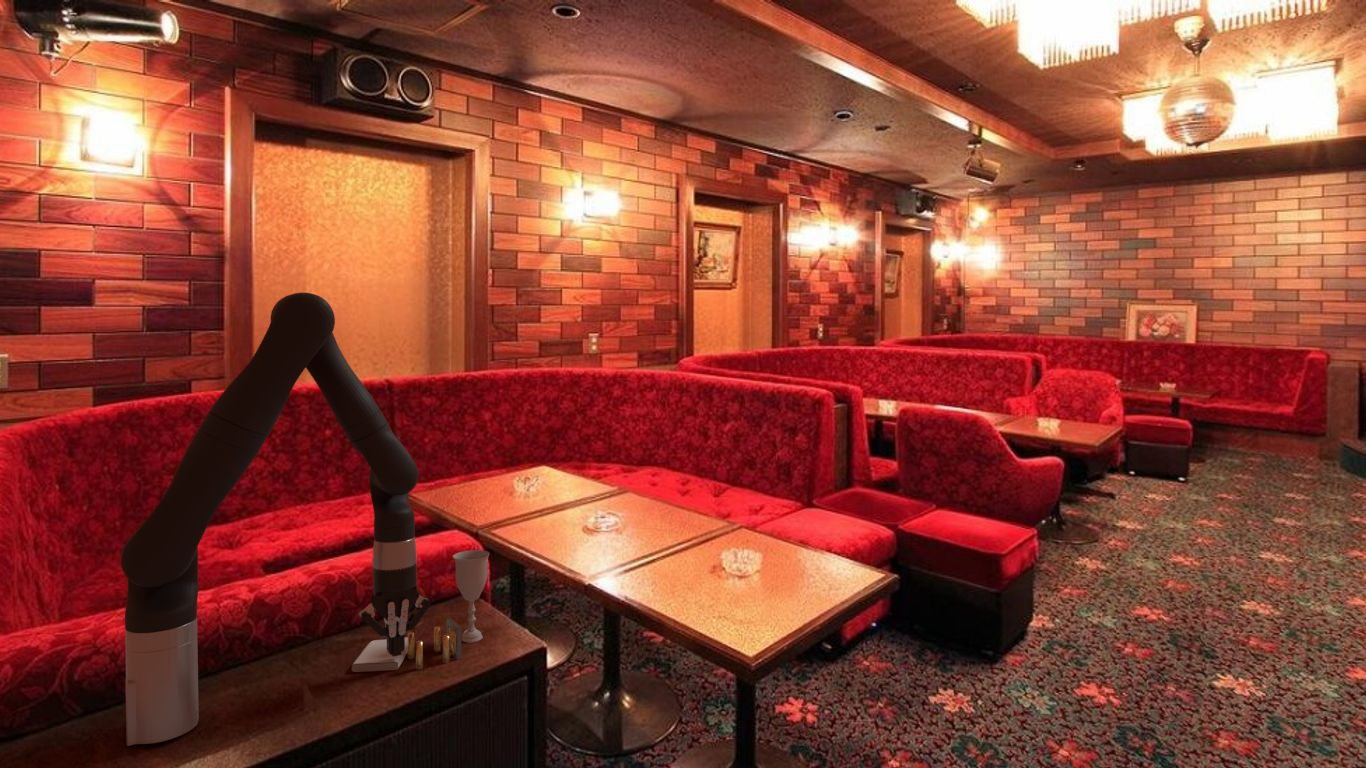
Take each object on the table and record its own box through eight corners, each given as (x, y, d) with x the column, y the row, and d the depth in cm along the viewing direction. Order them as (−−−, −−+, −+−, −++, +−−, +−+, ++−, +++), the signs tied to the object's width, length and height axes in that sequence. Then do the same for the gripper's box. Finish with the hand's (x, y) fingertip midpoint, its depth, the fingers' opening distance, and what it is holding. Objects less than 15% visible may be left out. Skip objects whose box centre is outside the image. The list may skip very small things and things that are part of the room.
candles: (417, 670, 132) (417, 637, 132) (406, 658, 137) (406, 626, 137) (462, 658, 138) (462, 627, 137) (451, 648, 143) (451, 617, 142)
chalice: (480, 633, 151) (480, 548, 150) (496, 642, 146) (496, 555, 145) (447, 642, 146) (446, 554, 145) (462, 652, 141) (461, 561, 140)
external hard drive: (398, 661, 132) (414, 636, 145) (351, 663, 131) (371, 638, 144) (398, 669, 132) (414, 644, 145) (351, 672, 131) (371, 646, 144)
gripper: (361, 573, 125) (362, 670, 126) (437, 560, 133) (438, 652, 134) (351, 563, 131) (352, 656, 132) (424, 552, 139) (425, 639, 140)
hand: (395, 654), depth 133 cm, fingers closed
